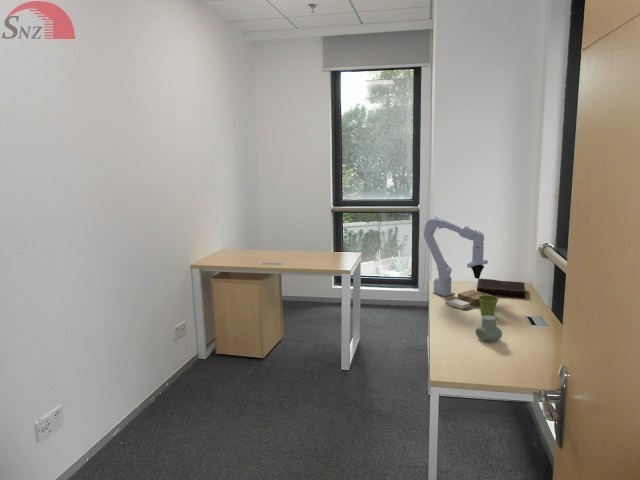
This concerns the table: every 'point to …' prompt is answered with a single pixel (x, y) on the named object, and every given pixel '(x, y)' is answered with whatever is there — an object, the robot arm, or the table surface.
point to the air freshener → (488, 329)
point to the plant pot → (487, 304)
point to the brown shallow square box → (471, 297)
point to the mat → (467, 307)
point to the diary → (501, 288)
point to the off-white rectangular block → (459, 303)
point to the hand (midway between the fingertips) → (476, 278)
